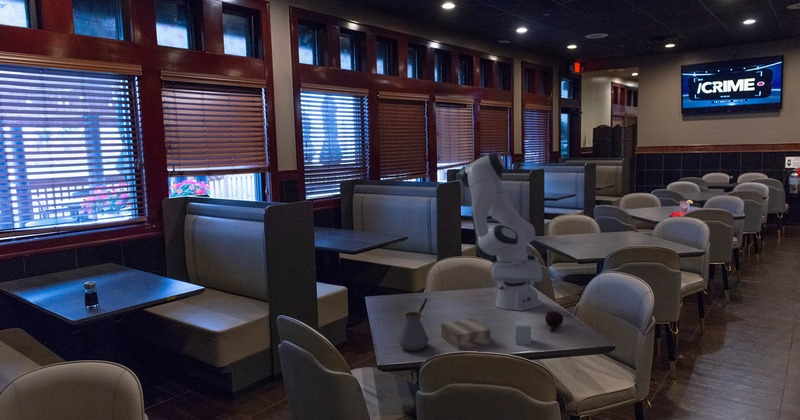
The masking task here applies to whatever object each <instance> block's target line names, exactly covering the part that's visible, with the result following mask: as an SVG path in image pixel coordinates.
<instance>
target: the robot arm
mask: <svg viewBox="0 0 800 420" xmlns="http://www.w3.org/2000/svg"><path fill="white" fill-rule="evenodd" d="M505 169H506V166H505V161H504V159H503V157H502V156H501V155H500V154H499V153H497V152H492V153H488V154H487V155H485V156H481V157H479V158H477V159H476V160H474V161H473V162H470V163H469V164H467V165H465V166H463V167H462V168H461V169H460V170H459V171H458V177H459V181H460V183H461V184H462V185H463V186H464V187H465V188H468V189H469V192H470V194H471V195H470V196H471V218H472V224H473V230H474V235H475V236H474V237H475V245H474V246H475V250H476V254H477V255H478V256H479V257H480V258H482V259H484V260H487V261H491V260H494V259H495V258H497V260H495V261H493V262H492V263H491V265H490V266H491V270H492V271H491V272H492V273H491V280H492V281H493V282H494V283H497V284H496V285H497V294H496V299H495V304H494V306H495V307H497V308H499V309H503V310H512V311H519V312H522V311H523V312H524V311H526V310H531V309H534V308H538V307H542V306H544V301H542V300H541V299H539V295H538V294H539V293H538V292H537V290H536V289H534V288H533V286H534V283H541V282H543V280H544V279H543V268H542V265H541V263H539V257H538V256H536V255H534V254H533V255H532V254H529V253H528V252H527V247H528V244H530V243H531V242H533V241H534V239H535V237H536V229H535V227H534V225H533V224H532V223H530V222H529V221H527V220H525V219H523V217H521V215H519V214H518V212H517V211H516V210H515V208H514V206H513V203H512V202H511V200H510V197H509V194H508V192H507V190H506V188H505V185H504V184H503V182H502V180H501V179H502V177H503V174H504V173H505ZM488 214H489V215H490V217H491V218H492V219H494V220H496V221H498V222H499V224H495V225H492V226H490V227H488V221H487V220H488ZM528 283H529V284H528Z"/></svg>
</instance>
